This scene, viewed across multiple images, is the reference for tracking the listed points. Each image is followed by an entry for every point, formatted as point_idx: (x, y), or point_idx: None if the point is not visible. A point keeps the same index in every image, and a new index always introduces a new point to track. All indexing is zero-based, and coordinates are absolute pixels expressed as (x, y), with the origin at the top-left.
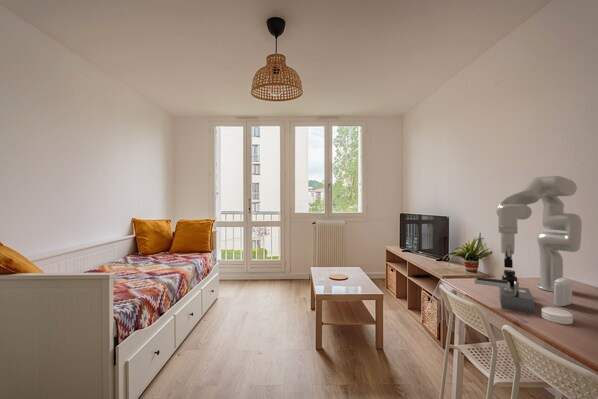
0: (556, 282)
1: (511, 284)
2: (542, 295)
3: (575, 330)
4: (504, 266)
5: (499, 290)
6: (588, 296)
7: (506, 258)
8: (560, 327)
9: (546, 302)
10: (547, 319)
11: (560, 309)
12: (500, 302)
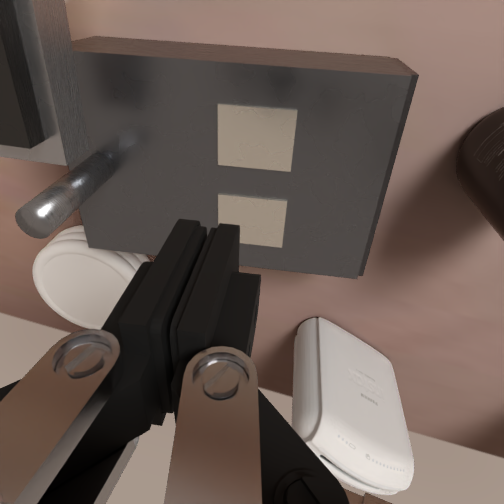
0: (310, 434)
1: (486, 194)
2: (481, 315)
3: (18, 288)
4: (184, 220)
5: (338, 63)
6: (499, 449)
7: (73, 371)
8: (8, 254)
9: (345, 298)
10: (56, 236)
11: None
12: (195, 44)
